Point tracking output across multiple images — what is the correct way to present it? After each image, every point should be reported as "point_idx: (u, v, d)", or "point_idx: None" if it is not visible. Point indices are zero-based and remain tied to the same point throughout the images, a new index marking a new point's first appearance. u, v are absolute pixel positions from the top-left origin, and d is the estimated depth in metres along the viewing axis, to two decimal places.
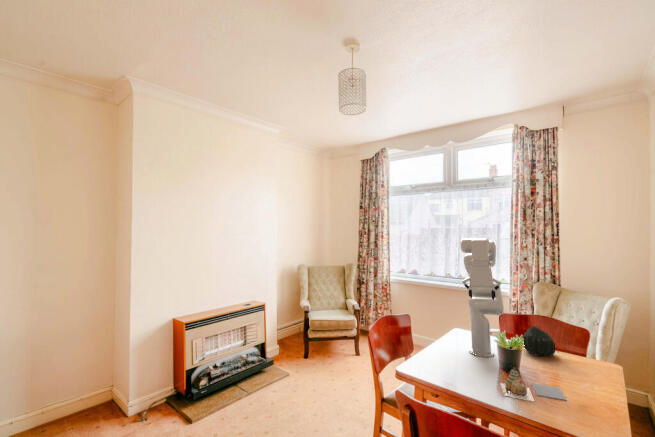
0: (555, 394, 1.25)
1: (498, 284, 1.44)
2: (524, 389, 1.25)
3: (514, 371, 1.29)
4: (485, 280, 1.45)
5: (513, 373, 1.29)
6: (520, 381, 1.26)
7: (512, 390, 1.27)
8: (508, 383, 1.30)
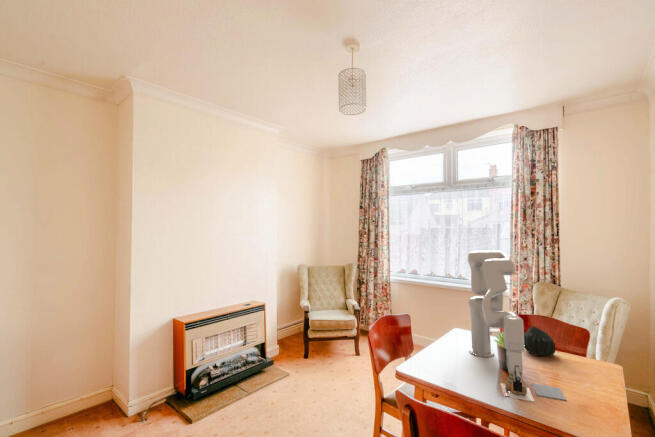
0: (555, 394, 1.25)
1: None
2: (524, 389, 1.25)
3: None
4: None
5: None
6: None
7: (512, 390, 1.27)
8: (508, 383, 1.30)
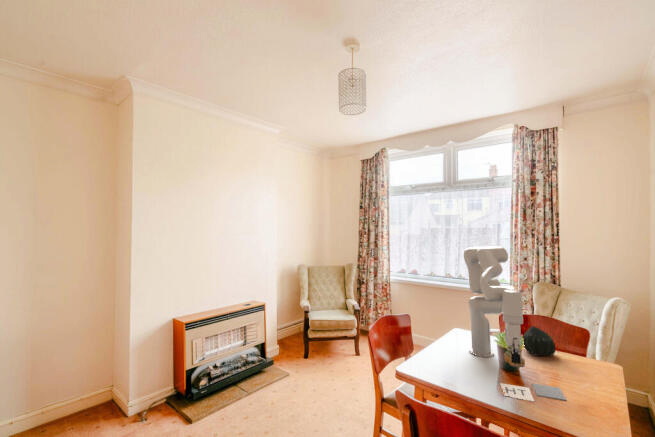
0: (555, 394, 1.25)
1: None
2: (522, 361, 1.26)
3: None
4: None
5: None
6: None
7: (510, 362, 1.28)
8: (506, 356, 1.31)
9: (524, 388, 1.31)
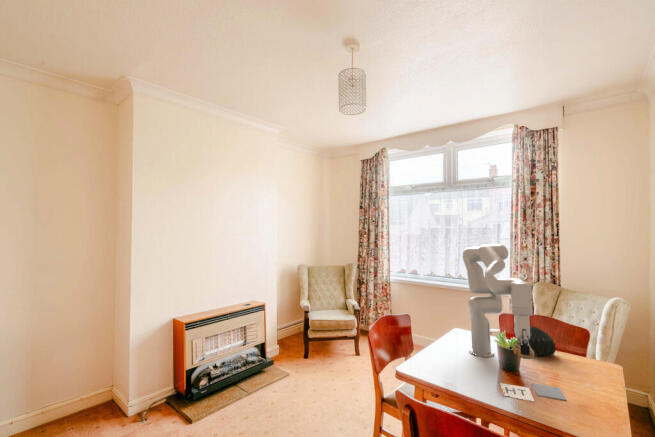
0: (555, 394, 1.25)
1: None
2: (531, 353, 1.25)
3: (521, 336, 1.29)
4: None
5: None
6: None
7: (519, 354, 1.27)
8: (515, 348, 1.30)
9: (524, 388, 1.31)
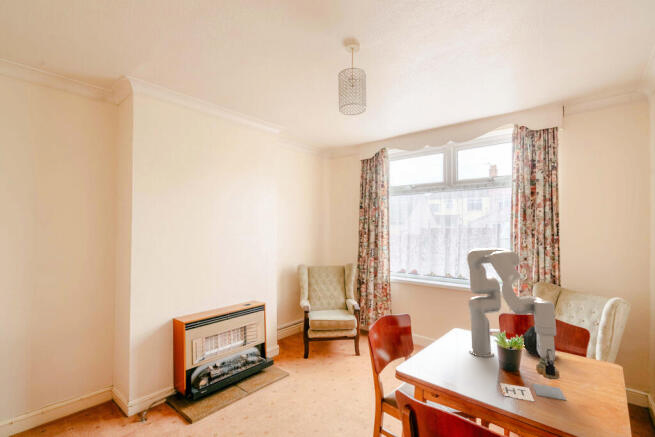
0: (555, 394, 1.25)
1: None
2: (557, 373, 1.24)
3: None
4: None
5: (544, 358, 1.28)
6: None
7: (544, 374, 1.26)
8: (539, 368, 1.29)
9: (524, 388, 1.31)
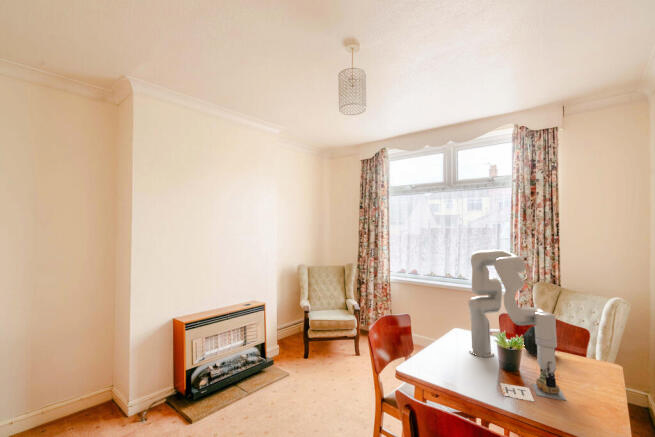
0: (555, 394, 1.25)
1: None
2: (557, 388, 1.25)
3: None
4: None
5: (545, 372, 1.29)
6: None
7: (544, 389, 1.26)
8: (539, 382, 1.29)
9: (524, 388, 1.31)
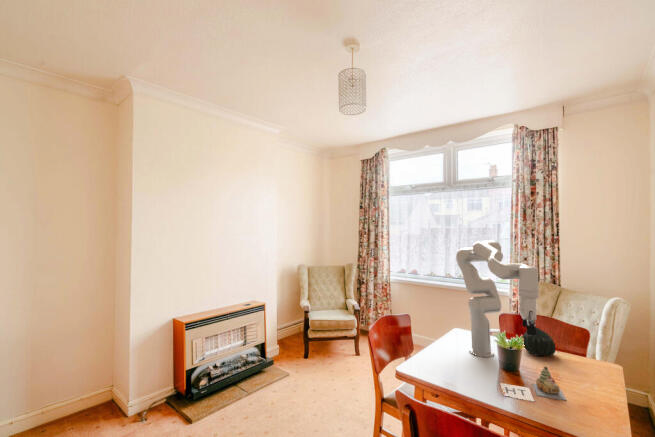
0: (555, 394, 1.25)
1: None
2: (557, 388, 1.25)
3: (546, 370, 1.29)
4: None
5: (545, 372, 1.29)
6: (552, 380, 1.26)
7: (544, 389, 1.26)
8: (539, 382, 1.29)
9: (524, 388, 1.31)
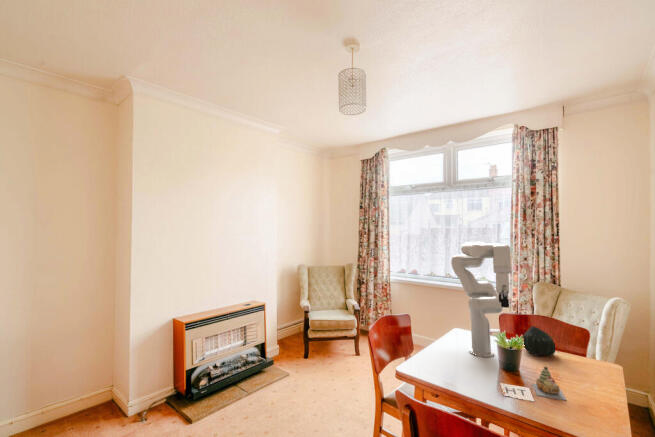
0: (555, 394, 1.25)
1: None
2: (557, 388, 1.25)
3: (546, 370, 1.29)
4: None
5: (545, 372, 1.29)
6: (552, 380, 1.26)
7: (544, 389, 1.26)
8: (539, 382, 1.29)
9: (524, 388, 1.31)
